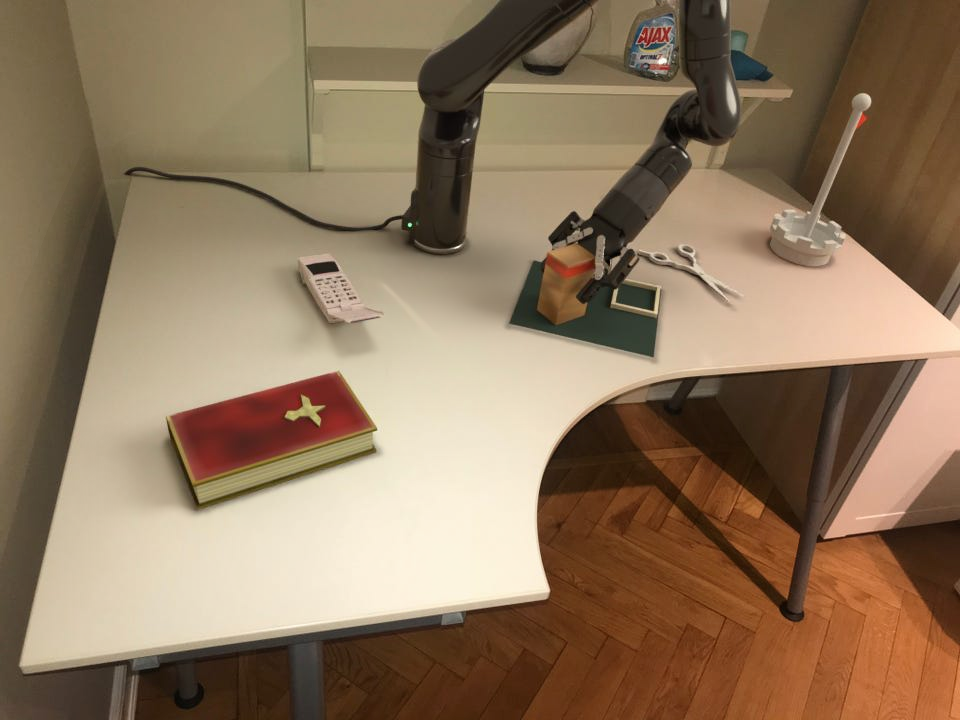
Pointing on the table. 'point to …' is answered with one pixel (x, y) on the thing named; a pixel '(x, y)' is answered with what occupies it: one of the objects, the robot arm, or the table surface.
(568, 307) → the box
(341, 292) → the mobile phone
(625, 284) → the mat
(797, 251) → the flag stand
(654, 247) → the table surface
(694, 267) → the scissors
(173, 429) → the hardcover book
